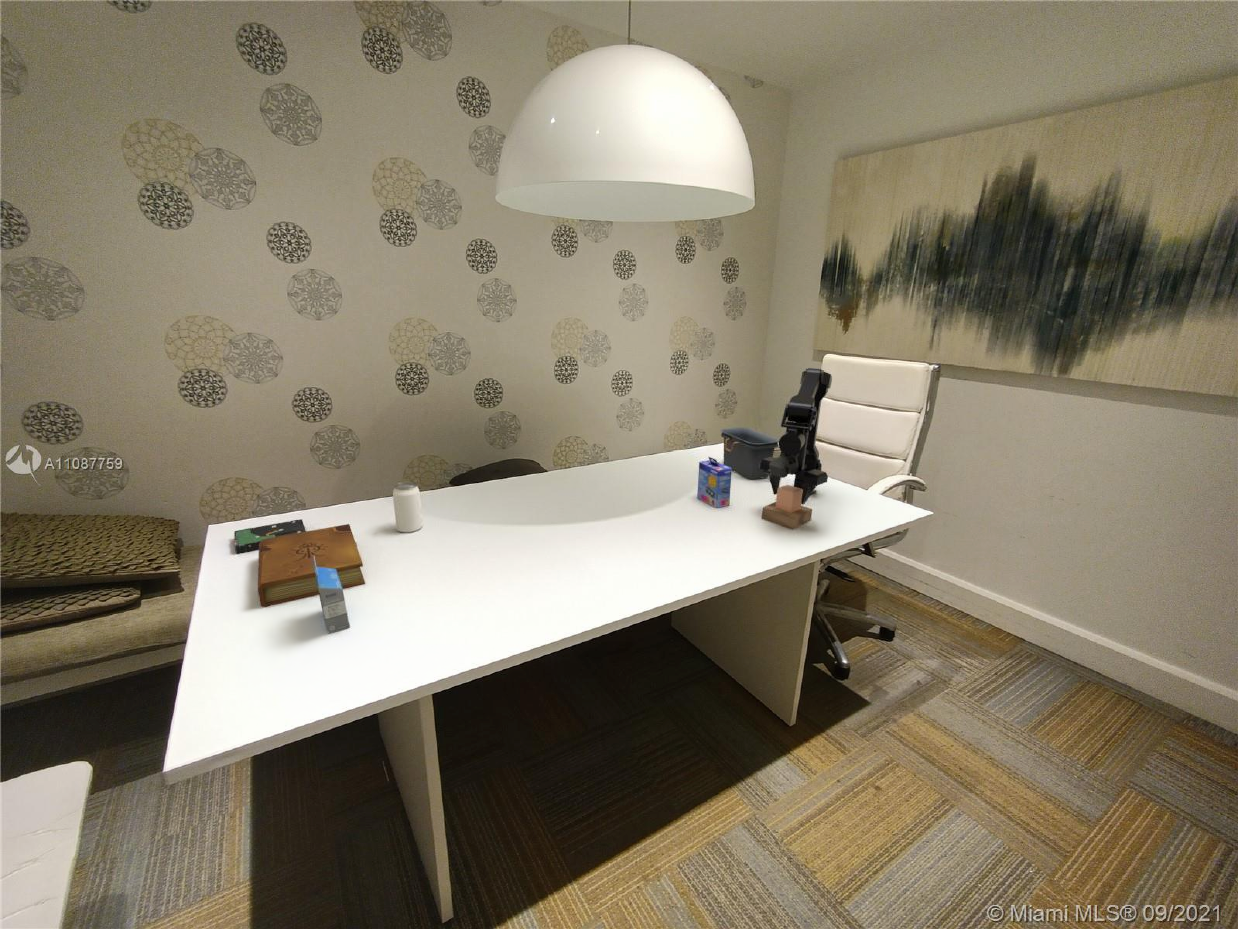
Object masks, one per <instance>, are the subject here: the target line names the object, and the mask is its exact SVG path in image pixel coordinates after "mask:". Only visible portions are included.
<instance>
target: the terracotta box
mask: <svg viewBox="0 0 1238 929" xmlns="http://www.w3.org/2000/svg"><path fill="white" fill-rule="evenodd" d="M802 493H803V489H800V488H797V487H794V485H791V484H785V485H783V486H779V488H778V490H777V494H776V498H775V502H776V506H775V508H778V509H781V510H783V511H786V512H789V513H792V512H794V511H797V510H800V509H801V506H802V504H801V499H802Z"/></svg>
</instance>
